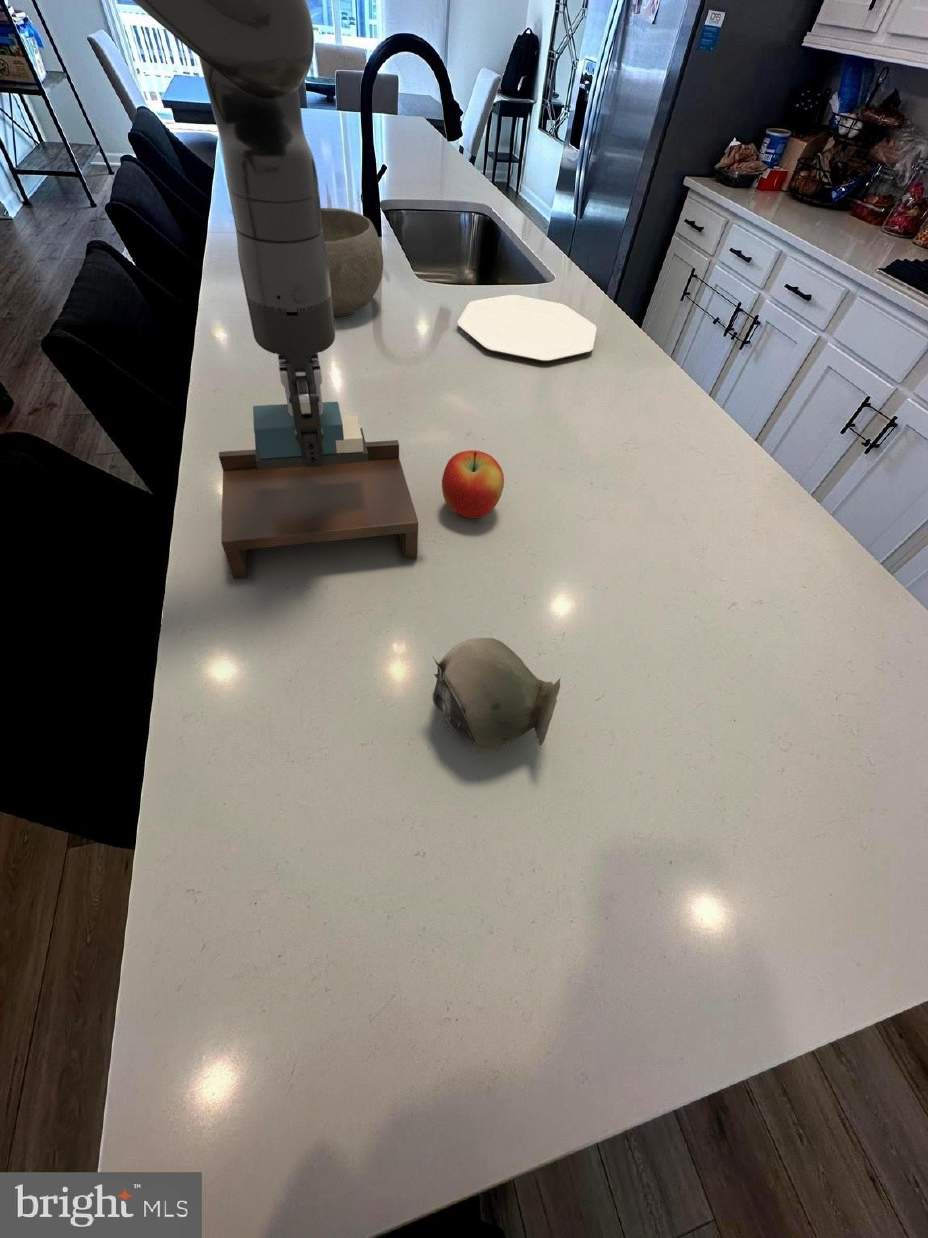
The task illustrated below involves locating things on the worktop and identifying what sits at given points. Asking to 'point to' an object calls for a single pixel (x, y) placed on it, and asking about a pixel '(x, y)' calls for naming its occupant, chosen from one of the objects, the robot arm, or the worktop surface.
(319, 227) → the robot arm
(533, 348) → the plate
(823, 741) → the worktop surface
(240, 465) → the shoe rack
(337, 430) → the teal eraser block
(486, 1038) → the worktop surface
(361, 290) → the bowl
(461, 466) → the apple
